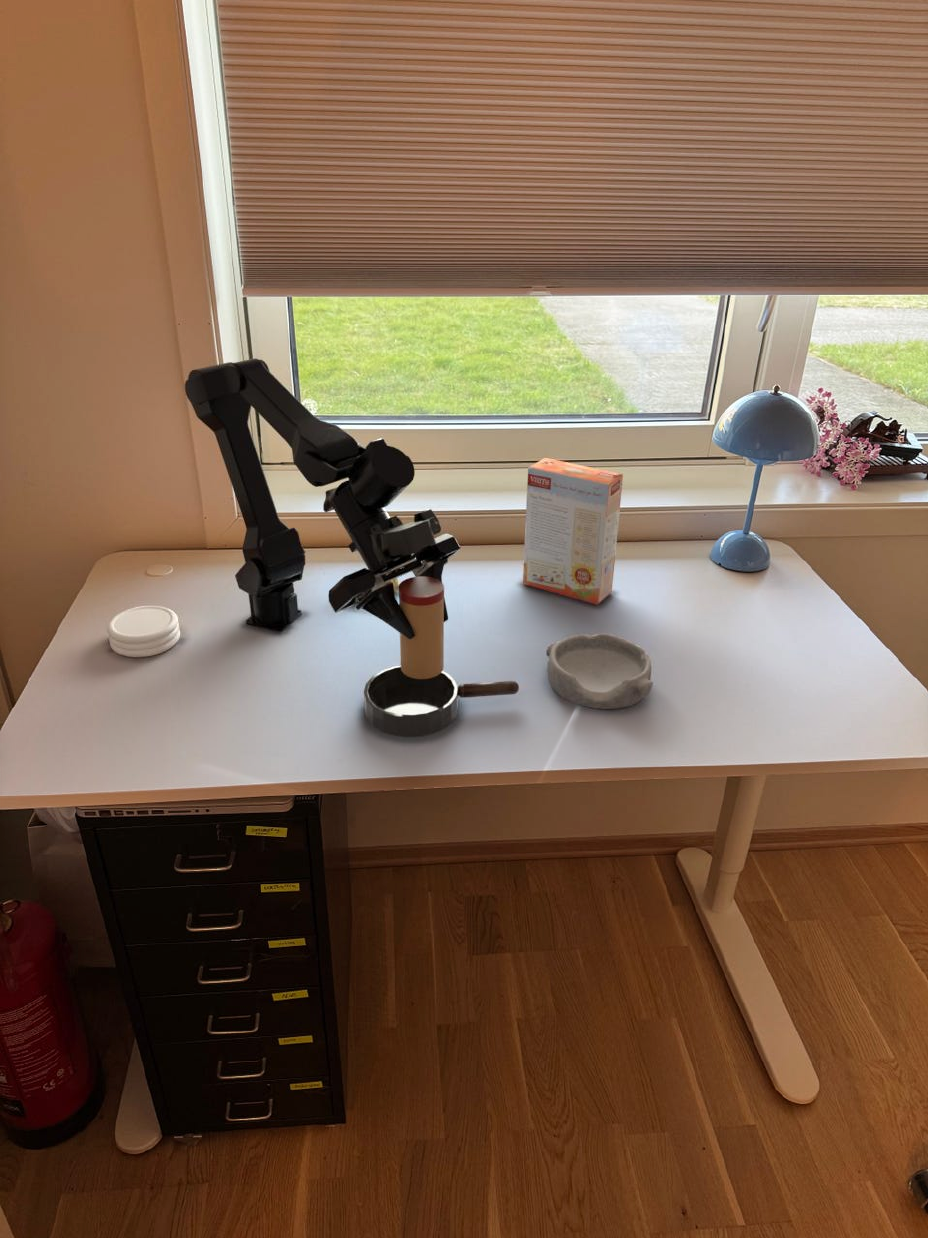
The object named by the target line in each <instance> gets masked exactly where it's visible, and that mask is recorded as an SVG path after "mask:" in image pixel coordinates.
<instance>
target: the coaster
mask: <svg viewBox="0 0 928 1238" xmlns="http://www.w3.org/2000/svg"><path fill="white" fill-rule="evenodd" d="M106 631H107V634H108V640H109V645H110V647H111V649H112V650H113V652H115V653H116V654H118V655H121V656H123V657H128V658H147V657H151V656H155V655H159V654H162V653H164V652H166V651H168V650H169V649H171V648H173V647H174V646H175V645H176V644H177V642H178V641H179V640H180V638H181V630H180V624H179V618H178V615H177V614H176V613H175V612H174V611H173V610H172V609H170V608H168V607H165V606H159V605H141V606H136V607H132V608H129V609H126V610H123V611H121V612H119V613H118V614H116V615H115V616H114V617H112V618H111V620H109V622H108V624H107V628H106Z"/></svg>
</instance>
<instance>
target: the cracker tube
mask: <svg viewBox="0 0 928 1238" xmlns="http://www.w3.org/2000/svg"><path fill="white" fill-rule="evenodd" d="M444 598H445V585H444V583H443V581H442V582H441V581H439V580H437V579H435V578H432V577H425V576H419V577H415V576H413V577H409V578H406V579H404V580H402V581H400V582H399V587H398V604H399V605H400V607H401V609H402V611H403V612H404V614H405V616H406V617H407V619H408V621H409V623H410V624H411V627H412V629H413V631H414V633H415V637H413V638H412V639H408V638H407V637H405V636H404V635H403V634H401V633H400V632H399V651H400V653H399V654H400V665H401V670H402V672H403V673H404V674H405V675H407V676H408V677H411V678H415V679H429V678H433V677H435V676H437V675H439V674H440V673H441V672H442V671H444V667H445V666H444V665H445V664H444V663H445V662H444V660H445V659H444V657H445V656H444V653H445V652H444V651H445V650H444V649H445V648H444V644H445V643H444V641H445V640H444V638H445V637H444V636H445V635H444V634H445V631H444V630H445V629H444V628H445V626H444V625H445V624H444V623H445V622H444Z"/></svg>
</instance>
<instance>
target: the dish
mask: <svg viewBox="0 0 928 1238" xmlns="http://www.w3.org/2000/svg"><path fill="white" fill-rule="evenodd" d="M545 653H546V656H547V657H548V658H547V659H548V660H547V676H548V681H549V684H550V687H551V688H552V689H553V690H554V692H555V693H556V694H558V695H559V696H560V697H562V698H563V699H565V700H567V701H569V702H571V703H574V704H577V705H579V706H582V707H583V706H584V707H587V708H594V709H604V710H606V709H607V710H609V709H610V710H612V709H613V710H614V709H622V708H623V709H624V708H627V707H632V706H633V705H635V704H637V703H638V702H640V701H641V700H642V699H643V698H644V697H647V695H648V694H649V693H650V692H651V691H652V687H653V685H654V682H653V681H652V680H651V678H652V660H651V658H650V656H649V654H647V652H646V651H645V649H643V648H642V647H641V646H640V645H638V644H636V643H634V642H633V641H632V642H631V641H629V640H627V639H625V638H622V637H619V636H616V635H613V634H609V633H603V632H600V633H597V634H595V635H586V634H583V633H579V634H577V635H571V636H568V637H566V638H563V639H561V640H560V641H557V642H551V643H550V644H549V645H548V646H547V648H546V652H545Z"/></svg>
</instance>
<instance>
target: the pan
mask: <svg viewBox="0 0 928 1238" xmlns="http://www.w3.org/2000/svg"><path fill="white" fill-rule="evenodd" d="M363 704H364V706H363V707H364V713H365V717H366V720H367V721H368V722H369V723H370V725H371V726H372V727H374V729H376V730H378V731H380V732H381V733H385V734H386V735H387V734H388V735H391V736H395V737H402V738H419V737H425V736H430V735H433V734H436V733H438V732H441V731H442V730H444V729H446V728H447V727H449V726H450V725H451V724H452V723H453V722H454V720H455V719H456V717H457V715H458V711H459V696H458V684H457V682H456V680H455V679H454V678H453V677H452V676H451V675H450V674H449V673H448V672H446V671H444V670H443V671H442V672H441V673H440V674H439V675H437V676H435V677H433V678H429V679H415V678H411V677H408V676H407V675H405V674H404V673H403V672H402V670H401V664H400V665H395V666H391V667H388V668H385V669H382V670H380V671H379V672H377V673H375V674H374V675H372V676H371V677H370V679H368V681H367V682H366V683H365V686H364V689H363Z"/></svg>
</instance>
